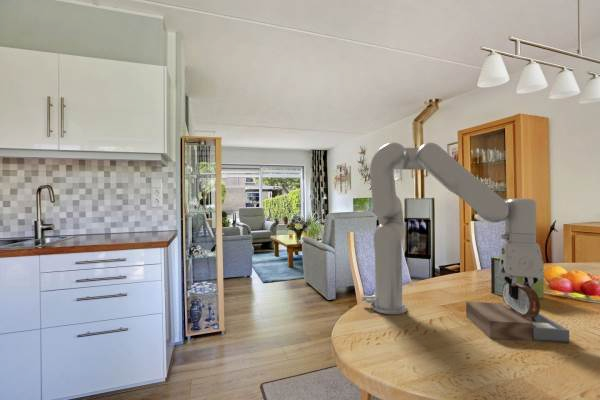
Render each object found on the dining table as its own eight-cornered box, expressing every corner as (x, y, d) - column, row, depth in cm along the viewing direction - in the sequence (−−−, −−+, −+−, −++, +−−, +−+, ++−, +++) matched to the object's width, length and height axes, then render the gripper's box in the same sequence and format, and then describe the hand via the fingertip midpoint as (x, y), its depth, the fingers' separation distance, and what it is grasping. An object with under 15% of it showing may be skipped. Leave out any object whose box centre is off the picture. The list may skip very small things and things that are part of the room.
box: (533, 341, 82) (533, 328, 82) (502, 318, 98) (502, 307, 98) (569, 343, 81) (569, 330, 81) (531, 319, 97) (531, 308, 97)
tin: (539, 322, 82) (543, 293, 82) (526, 320, 83) (531, 291, 82) (508, 303, 97) (512, 278, 97) (498, 301, 98) (502, 277, 97)
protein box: (544, 298, 118) (544, 259, 118) (513, 301, 114) (512, 261, 114) (519, 290, 128) (519, 254, 128) (490, 292, 125) (490, 256, 125)
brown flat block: (490, 338, 84) (490, 321, 84) (466, 316, 99) (466, 301, 99) (532, 340, 82) (532, 323, 82) (501, 318, 98) (501, 303, 98)
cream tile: (560, 330, 83) (560, 337, 83) (547, 323, 88) (547, 329, 88) (540, 329, 83) (540, 336, 83) (529, 322, 88) (529, 328, 88)
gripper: (498, 239, 87) (497, 301, 87) (558, 240, 85) (558, 304, 85) (485, 236, 95) (485, 293, 95) (541, 237, 92) (540, 295, 92)
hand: (519, 297), depth 90 cm, fingers closed on tin, 2 cm apart
